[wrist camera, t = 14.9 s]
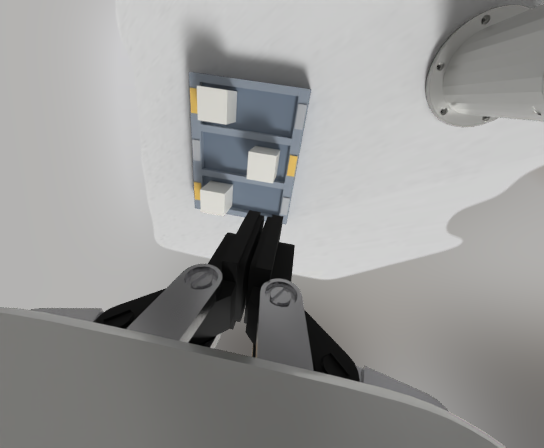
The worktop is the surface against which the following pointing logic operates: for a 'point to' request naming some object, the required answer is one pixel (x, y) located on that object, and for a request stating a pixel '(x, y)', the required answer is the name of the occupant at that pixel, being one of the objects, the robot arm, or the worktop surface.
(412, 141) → the worktop surface
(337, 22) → the worktop surface
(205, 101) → the tab
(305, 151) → the worktop surface
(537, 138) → the worktop surface
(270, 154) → the tab
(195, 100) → the switch bank
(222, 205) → the tab
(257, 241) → the robot arm
